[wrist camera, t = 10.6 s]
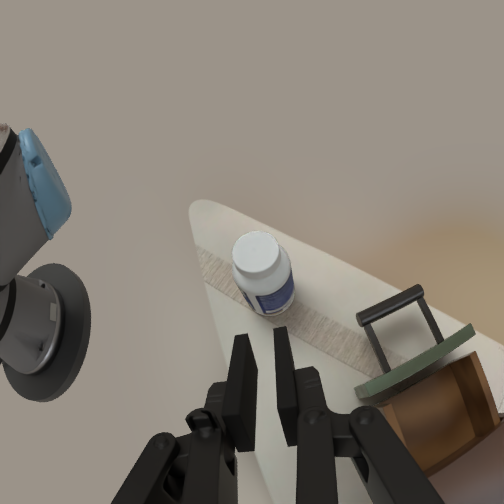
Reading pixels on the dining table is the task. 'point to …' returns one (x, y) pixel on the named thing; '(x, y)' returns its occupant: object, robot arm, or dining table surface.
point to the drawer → (431, 391)
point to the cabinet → (474, 472)
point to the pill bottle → (263, 273)
